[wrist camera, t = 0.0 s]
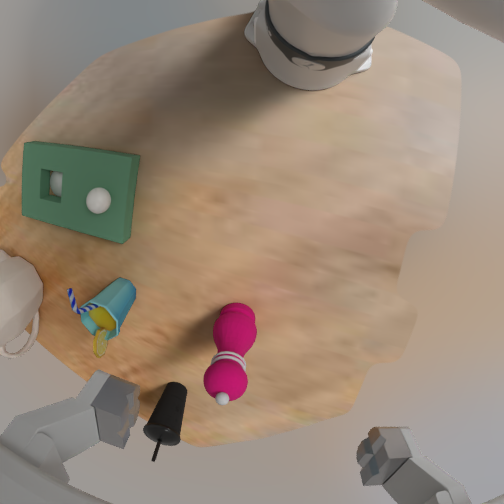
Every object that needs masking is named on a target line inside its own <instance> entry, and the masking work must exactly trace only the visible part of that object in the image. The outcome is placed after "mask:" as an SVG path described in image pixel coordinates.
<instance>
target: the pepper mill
mask: <svg viewBox="0 0 504 504" xmlns="http://www.w3.org/2000/svg"><path fill="white" fill-rule="evenodd" d="M256 334H257V329H256V325H255V314H254V312H253V311H252V309H251V308H250V307H248V306H247V305H244V304H241V303H231V304H228V305H226V306H225V307H224V308H223V309H222V311H221V313H220V316H219V318H218V319H217V320H216V322H215V324H214V327H213V337H214V341H215V344H216V346H217V349H218V353H217V354H216V355H215V356H214V357H213V358H212V362H211V366H209V367H208V369H207V370H206V372H205V374H204V386H205V389H206V391H207V392H208V394H210V395H211V396H212V397H213V398H215V399H216V402H217V403H218V404H220V405H225V404H227V403H228V401H233V400H236V399H238V398H239V397H241V396H242V395H243V393H244V392H245V390H246V388H247V384H248V379H247V375H246V373H245V371H246V362H245V360H244V359H243V357H244V355H245V353H246V352H247V351H248V350H249V349H250V348H251V347H252V345H253V343H254V342H255V339H256Z"/></svg>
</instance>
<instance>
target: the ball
mask: <svg viewBox="0 0 504 504" xmlns="http://www.w3.org/2000/svg"><path fill="white" fill-rule="evenodd" d="M86 204H87V207H88V209H89V210H90V211H91V212H93V213H96V214H100V213H103V212H105V211H106V210H107V209H108V208H109V206H110V204H111V196H110V194H109V192H108V191H107V190H106V189H104V188H94V189H92V190H91V191H90V192H89V194H88V195H87V198H86Z"/></svg>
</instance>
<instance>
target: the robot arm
mask: <svg viewBox="0 0 504 504" xmlns="http://www.w3.org/2000/svg"><path fill="white" fill-rule="evenodd" d="M422 1H424V2H426V3H428V4H430V5H432V6H433V7H435V8H437V9H439V10H441V11H442V12H444V13H446V14H448V15H449V16H451V17H453V18H454V19H456V20H458V21H459V22H461V23H463V24H465V25H468V26H470V27H472V28H474V29H476V30H478V31H480V32H483V33H485V34H487V35H489V36H491V37H493V38H495V39H497V40H499V41H501V42H503V43H504V0H422ZM396 9H397V0H261V1H260V2H259V4H258V7H257V9H256V10H255V12H254V14H253V16H252V17H251V19H250V21H249V23H248V24H247V26H246V28H245V31H244V35H245V37H246V39H247V40H248V41H249V42H250V43H252V44H253V45H254V46H255V47H256V48H257V50H258V51H259V54H260V56H261V58H262V61H263V63H264V64H265V66H266V67H267V69H268V70H269V71H270V72H271V73H272V74H273V75H274V76H275V77H276V78H278V79H279V80H280V81H282V82H284V83H286V84H288V85H290V86H292V87H295V88H299V89H304V90H322V89H327V88H330V87H333V86H335V85H337V84H339V83H340V82H342V81H343V80H344V79H346V78H347V77H348V76H350V75H351V74H354V73H359V72H363V71H366V70H368V69H369V68H370V66H371V55H372V52H373V50H372V49H371V43H372V42H373V40H374V38H375V36H376V35H377V34H378V33H380V32H381V31H382V30H383V29H384V28H386V26H387V25H388V24H389V23H390V22H391V20H392V19H393V17H394V15H395V12H396ZM253 26H254V27H253ZM139 394H140V386H139V385H137V384H135V383H132V382H129V381H127V380H124V379H121V378H119V377H116V376H114V375H111V374H108V373H106V372H103V371H101V370H97V371H95V372H94V374H93V375H92V376H91V378H90V379H89V381H88V382H87V384H86V385H85V386H84V388H83V389H82V391H81V392H80V393H79V395H78V396H77V397H76V399H74V398H69V399H66V400H63V401H60V402H57V403H54V404H51V405H48V406H46V407H42V408H39V409H37V410H34V411H30V412H27V413H24V414H21V415H18V416H16V417H15V418H14V419H13V420H12V422H11V423H10V424H9V425H8V427H7V428H6V429H5V430H4V432H3V433H2V434H1V436H0V504H111V503H109V502H107V501H104V500H102V499H99V498H96V497H95V496H92V495H90V494H88V493H86V492H83V491H81V490H79V489H77V488H75V487H73V486H71V485H69V484H68V481H69V476H68V474H67V472H66V470H65V468H64V465H63V462H65V461H67V460H68V459H70V458H72V457H74V456H76V455H78V454H80V453H81V452H83V451H85V450H87V449H88V448H90V447H92V446H94V445H95V444H97V443H99V442H100V441H103V442H105V443H108V444H111V445H114V446H116V447H119V448H122V449H124V447H125V445H126V442H127V440H128V438H129V436H130V428H131V427H133V426H134V425H135V422H136V420H137V417H138V413H139V408H140V401H139V400H138V396H139ZM368 436H369V437H368V438H367V439H364V440H363V441H362V442H361V444H360V445H359V446H358V450H357V462H358V464H360V466H361V467H362V469H361V471H360V474H361V478H362V483H363V486H369V485H382V486H383V487H384V489H385V490H386V491H387V492H388V493H389V494H390V495H391V497H392V498H393V499H394V500H395V501H396V502H397V503H398V504H471V501H470V499H469V497H468V494H467V492H466V490H465V488H464V485H463V484H461V483H460V482H459V481H457V480H456V479H455V478H453V477H452V476H451V475H449V474H448V473H447V472H445V471H444V470H443V469H441V468H440V467H439V466H438V465H436V464H435V463H434V462H432V461H431V460H430V459H428V458H427V457H426V456H422V453H421V451H420V449H419V446H418V444H417V442H416V440H415V437H414V435H413V433H412V431H411V429H410V428H409V427H374V428H372V429H371V430H370V431H369V433H368ZM482 504H504V494H503V495H501V496H499V497H496V498H494V499H492V500H489V501H488V502H485V503H482Z"/></svg>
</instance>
